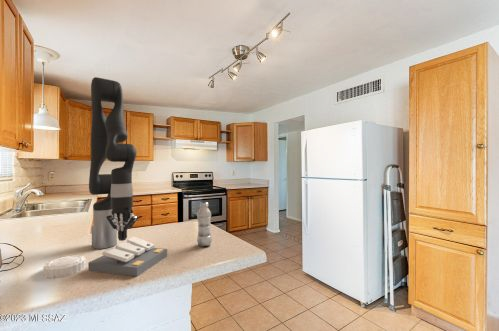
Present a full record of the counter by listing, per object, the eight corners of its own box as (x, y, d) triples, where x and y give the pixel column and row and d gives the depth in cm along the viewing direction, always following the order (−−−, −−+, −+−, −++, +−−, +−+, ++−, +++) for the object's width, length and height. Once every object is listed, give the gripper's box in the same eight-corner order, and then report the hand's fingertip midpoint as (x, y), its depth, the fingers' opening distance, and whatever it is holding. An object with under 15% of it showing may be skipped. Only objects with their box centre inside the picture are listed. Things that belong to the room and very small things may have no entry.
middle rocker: (115, 248, 91) (115, 245, 90) (123, 245, 94) (123, 241, 94) (137, 255, 88) (138, 251, 88) (144, 251, 92) (145, 248, 92)
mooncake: (79, 260, 94) (79, 251, 94) (90, 269, 87) (90, 259, 87) (40, 271, 85) (39, 261, 85) (47, 282, 77) (47, 271, 77)
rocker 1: (102, 254, 85) (102, 250, 85) (111, 250, 89) (111, 247, 89) (126, 262, 83) (126, 258, 82) (134, 257, 86) (134, 253, 86)
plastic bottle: (208, 248, 107) (208, 203, 106) (194, 247, 108) (194, 203, 108) (213, 243, 113) (213, 201, 113) (200, 242, 114) (200, 201, 114)
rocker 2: (126, 242, 96) (127, 239, 96) (133, 239, 100) (134, 236, 100) (147, 250, 94) (148, 247, 94) (153, 247, 98) (154, 244, 98)
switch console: (88, 270, 85) (88, 258, 85) (125, 252, 102) (125, 241, 102) (137, 276, 80) (137, 263, 80) (167, 256, 98) (166, 245, 98)
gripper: (99, 196, 90) (100, 242, 90) (129, 196, 87) (130, 244, 87) (114, 193, 97) (115, 236, 97) (143, 194, 94) (143, 238, 94)
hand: (122, 240), depth 92 cm, fingers closed
